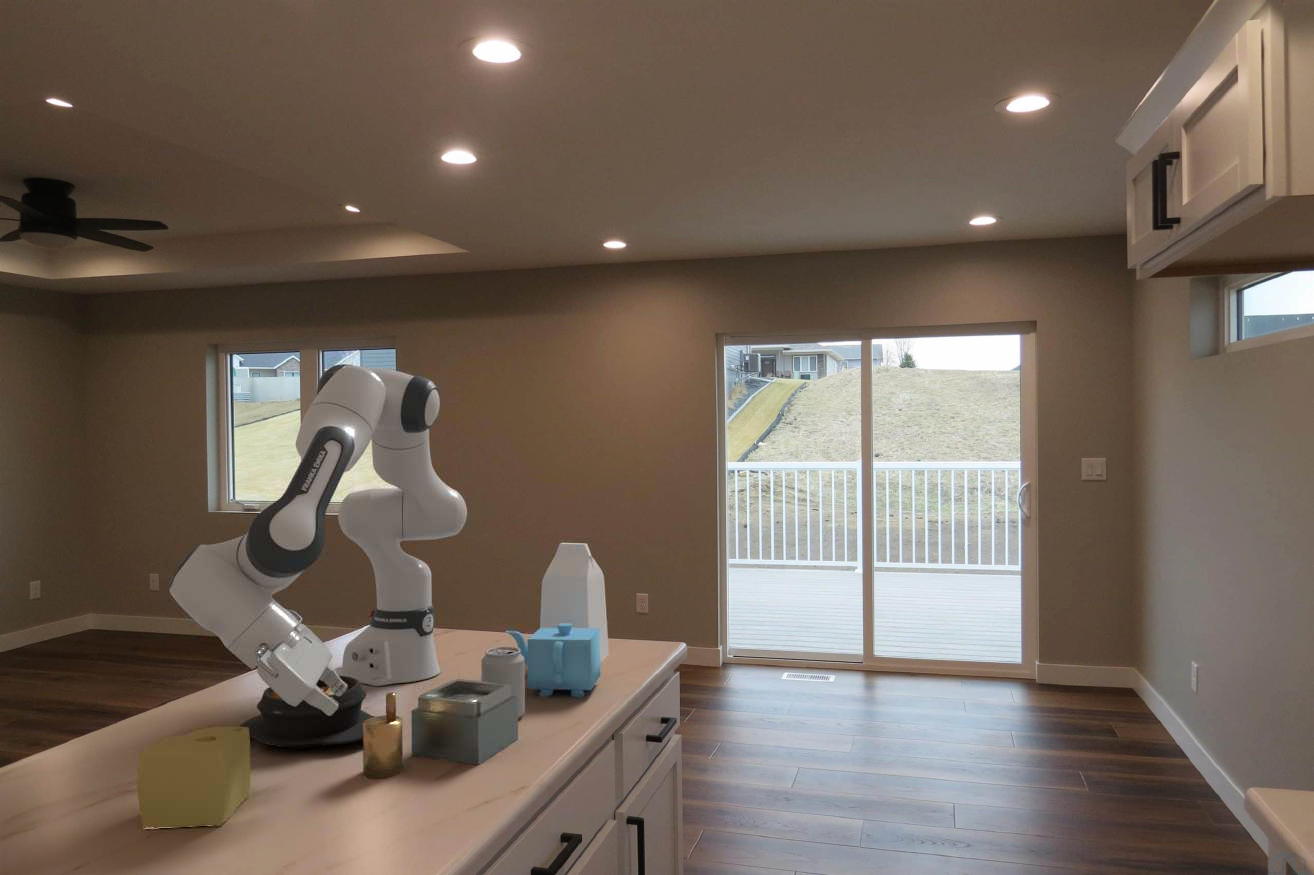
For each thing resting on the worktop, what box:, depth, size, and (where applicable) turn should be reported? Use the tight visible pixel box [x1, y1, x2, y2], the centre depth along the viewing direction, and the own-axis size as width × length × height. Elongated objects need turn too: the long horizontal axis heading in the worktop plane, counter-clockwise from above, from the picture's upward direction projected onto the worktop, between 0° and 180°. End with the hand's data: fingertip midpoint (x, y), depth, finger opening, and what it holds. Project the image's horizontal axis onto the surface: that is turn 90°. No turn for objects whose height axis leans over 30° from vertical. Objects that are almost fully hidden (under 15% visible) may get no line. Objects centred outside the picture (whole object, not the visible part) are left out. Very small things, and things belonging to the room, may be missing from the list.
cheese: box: [136, 726, 251, 829], centre depth 116 cm, size 10×11×10 cm
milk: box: [539, 542, 610, 663], centre depth 193 cm, size 12×12×26 cm
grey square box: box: [410, 678, 519, 766], centre depth 140 cm, size 12×12×9 cm
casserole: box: [238, 676, 376, 749], centre depth 146 cm, size 25×19×8 cm
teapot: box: [505, 623, 601, 698], centre depth 172 cm, size 18×16×13 cm
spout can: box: [362, 692, 404, 780], centre depth 130 cm, size 6×6×12 cm
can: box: [480, 646, 526, 720], centre depth 155 cm, size 8×8×12 cm
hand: (339, 701), depth 129 cm, fingers open, 8 cm apart
